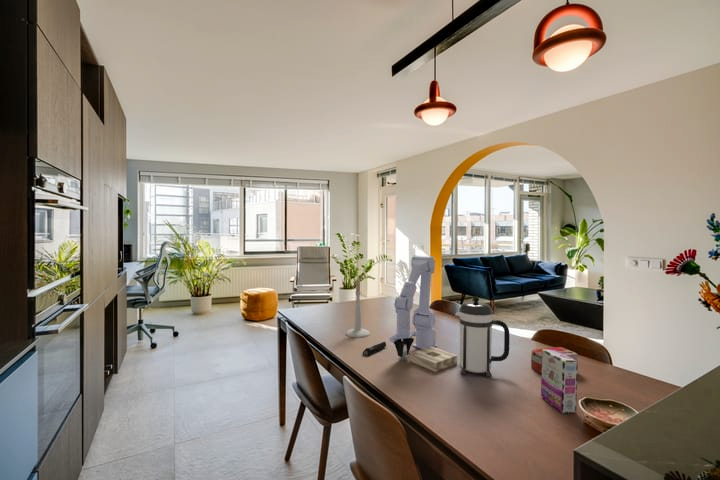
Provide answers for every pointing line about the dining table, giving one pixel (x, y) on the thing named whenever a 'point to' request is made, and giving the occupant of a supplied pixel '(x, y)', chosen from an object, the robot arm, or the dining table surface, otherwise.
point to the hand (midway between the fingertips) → (403, 355)
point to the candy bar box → (559, 380)
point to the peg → (404, 353)
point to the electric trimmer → (374, 349)
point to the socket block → (433, 358)
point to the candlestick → (357, 318)
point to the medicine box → (537, 356)
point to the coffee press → (478, 337)
